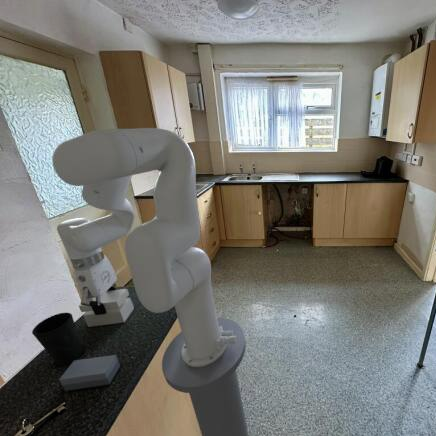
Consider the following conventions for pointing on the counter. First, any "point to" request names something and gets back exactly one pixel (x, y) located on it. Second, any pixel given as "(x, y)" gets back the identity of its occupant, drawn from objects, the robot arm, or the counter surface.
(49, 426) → the counter surface
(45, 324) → the cup
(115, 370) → the blue-grey rectangular block
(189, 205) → the robot arm
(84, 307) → the flat grey box
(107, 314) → the white book
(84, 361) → the blue-grey flat block
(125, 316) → the white book
